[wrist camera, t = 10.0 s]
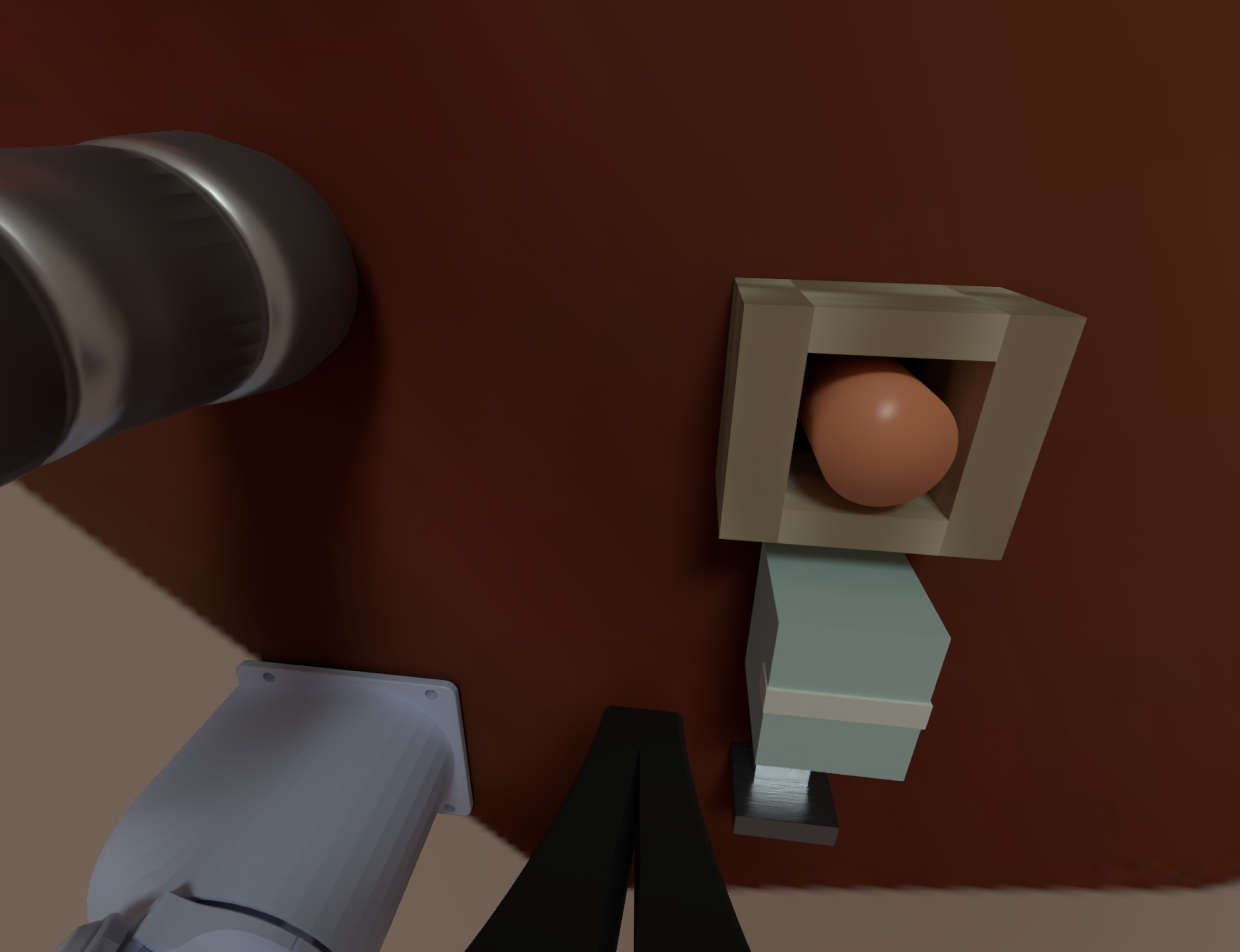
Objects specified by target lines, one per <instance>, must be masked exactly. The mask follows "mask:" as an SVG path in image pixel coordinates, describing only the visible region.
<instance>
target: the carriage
mask: <svg viewBox="0 0 1240 952" xmlns="http://www.w3.org/2000/svg"><path fill="white" fill-rule="evenodd" d="M950 640H951V638H950V636H949V634H948V632H947V630H946V629H945V627H944V625H943V623H942V621H941V620H940V618H939V616H938V614H937V612H936V610H935V609H934V607H933V605H932V603H931V601H930V600H929V598H928V596H927V594H926V592H925V591H924V589H923V587H922V585H921V583H920V581H919V580H918V578H917V576H916V574H915V572H914V571H913V569H912V567H911V565H910V563H909V562H908V560H907V558H906V556H905V554H904V553H900V552H887V551H874V550H861V549H848V548H835V547H822V546H809V545H796V544H783V543H770V542H762V549H761V555H760V562H759V569H758V576H757V583H756V590H755V597H754V604H753V611H752V618H751V625H750V632H749V638H748V645H747V652H746V659H745V668H746V678H747V688H748V699H749V709H750V719H751V730H752V740H753V750H754V761H755V765H764V766H773V767H782V768H791V769H800V770H809V771H818V772H827V773H836V774H845V775H854V776H862V777H871V778H880V779H889V780H898V781H904V778H905V775H906V772H907V769H908V766H909V763H910V760H911V757H912V754H913V751H914V748H915V745H916V742H917V739H918V736H919V733H920V730H921V729H925V728H926V725H927V722H928V719H929V716H930V713H931V710H932V707H933V706H932V704H931V702H930V700H931V697H932V694H933V691H934V688H935V685H936V682H937V679H938V676H939V673H940V670H941V667H942V664H943V661H944V658H945V655H946V652H947V649H948V646H949V643H950Z"/></svg>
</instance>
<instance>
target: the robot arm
mask: <svg viewBox="0 0 1240 952" xmlns="http://www.w3.org/2000/svg"><path fill="white" fill-rule="evenodd" d="M236 674H237V677H238V680H239V683H240V685H239V686H238V687H237V688H236V689H235V690H234V692H233V693H232V694H231V695H230V696H229V697H228V698H227V699H226V701H224V703H223V704H222V705H221V706H220V707H219V708H218V709H217V710H216V711H215V713H214V714H213V715H212V716H211V717H210V718H209V719H208V720H207V722H206V723H205V724H204V725H203V726H202V727H201V728H200V729H199V730H198V731H197V732H196V733H195V734H194V736H193V737H192V738H191V739H190V740H189V741H188V742H187V743H186V745H185V746H184V747H183V748H182V749H181V750H180V751H179V752H178V753H177V754H176V756H175V757H174V758H173V759H172V760H171V761H170V762H169V763H168V764H167V766H165V768H164V769H163V770H162V771H161V772H160V773H159V774H158V775H157V776H156V777H155V779H154V780H153V781H152V782H151V783H150V784H149V785H148V786H147V787H146V788H145V790H144V791H143V792H142V793H141V794H140V795H139V796H138V797H137V798H136V799H135V801H134V802H133V803H132V804H131V806H130V807H129V808H128V809H127V811H126V812H125V813H124V815H123V816H122V818H121V819H120V821H119V822H118V824H117V825H116V827H115V828H114V830H113V832H112V833H111V835H110V837H109V839H108V841H107V842H106V844H105V847H104V848H103V850H102V852H101V855H100V857H99V859H98V862H97V864H96V866H95V869H94V871H93V874H92V878H91V881H90V885H89V890H88V899H87V916H88V924H86V925H83V926H80V927H78V928H77V929H75V930H74V931H73V932H72V933H71V934H70V935H69V936H68V937H67V938H66V939H65V940H64V941H63V942H62V943H61V944H60V946H59V947H58V948H57V949H56V950H55V951H54V952H380V949H381V947H382V945H383V942H384V940H385V937H386V935H387V933H388V930H389V928H390V925H391V923H392V921H393V918H394V916H395V913H396V911H397V908H398V906H399V903H400V901H401V899H402V896H403V894H404V891H405V889H406V886H407V884H408V882H409V879H410V877H411V875H412V872H413V870H414V867H415V865H416V862H417V860H418V857H419V855H420V852H421V850H422V848H423V845H424V843H425V841H426V838H427V836H428V833H429V831H430V829H431V826H432V823H433V821H434V819H435V816H436V814H437V813H441V814H449V815H457V816H466V815H469V814H470V813H471V810H472V807H473V798H472V790H471V783H470V775H469V768H468V760H467V753H466V745H465V738H464V730H463V723H462V715H461V708H460V700H459V693H458V689H457V687H456V686H455V685H454V684H453V683H451V682H449V681H445V680H435V679H426V678H416V677H406V676H397V675H387V674H377V673H368V672H358V671H348V670H339V669H329V668H319V667H310V666H300V665H290V664H281V663H271V662H262V661H252V660H245V661H243V662H242V663H241V664H240V665H239V666H238V667H237V669H236ZM431 690H432V691H431ZM433 691H434V692H433ZM634 847H635V871H634V952H751V951H750V948H749V946H748V944H747V941H746V939H745V937H744V934H743V932H742V929H741V927H740V924H739V922H738V919H737V917H736V914H735V911H734V909H733V906H732V903H731V901H730V898H729V895H728V893H727V890H726V887H725V884H724V881H723V878H722V876H721V873H720V870H719V867H718V864H717V861H716V858H715V855H714V852H713V849H712V846H711V843H710V840H709V837H708V833H707V830H706V827H705V823H704V820H703V816H702V813H701V810H700V806H699V803H698V799H697V795H696V791H695V787H694V783H693V779H692V774H691V770H690V765H689V760H688V755H687V750H686V743H685V736H684V726H683V717H682V716H680V715H679V714H678V713H676V712H667V711H657V710H648V709H638V708H629V707H619V706H609V707H608V708H606V709H605V710H604V713H603V716H602V719H601V722H600V725H599V728H598V730H597V733H596V736H595V738H594V741H593V743H592V745H591V747H590V750H589V752H588V754H587V756H586V758H585V760H584V763H583V765H582V767H581V769H580V771H579V773H578V775H577V777H576V779H575V781H574V783H573V784H572V786H571V788H570V790H569V792H568V794H567V796H566V798H565V800H564V801H563V803H562V805H561V807H560V809H559V811H558V813H557V814H556V816H555V818H554V820H553V821H552V823H551V825H550V826H549V828H548V830H547V831H546V833H545V834H544V836H543V838H542V839H541V841H540V843H539V844H538V846H537V848H536V849H535V851H534V853H533V854H532V856H531V858H530V859H529V861H528V862H527V864H526V866H525V867H524V869H523V870H522V872H521V873H520V875H519V876H518V878H517V879H516V881H515V882H514V884H513V885H512V887H511V888H510V890H509V891H508V893H507V894H506V896H505V897H504V898H503V900H502V901H501V903H500V905H499V906H498V907H497V908H496V910H495V911H494V913H493V914H492V916H491V917H490V918H489V920H488V921H487V923H486V924H485V925H484V927H483V928H482V929H481V931H480V932H479V933H478V935H477V936H476V937H475V939H474V940H473V941H472V943H471V944H470V945H469V947H468V948H467V949H466V950H465V952H616V950H617V944H618V938H619V932H620V927H621V921H622V916H623V910H624V904H625V899H626V893H627V887H628V881H629V876H630V870H631V864H632V859H633V853H634Z"/></svg>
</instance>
